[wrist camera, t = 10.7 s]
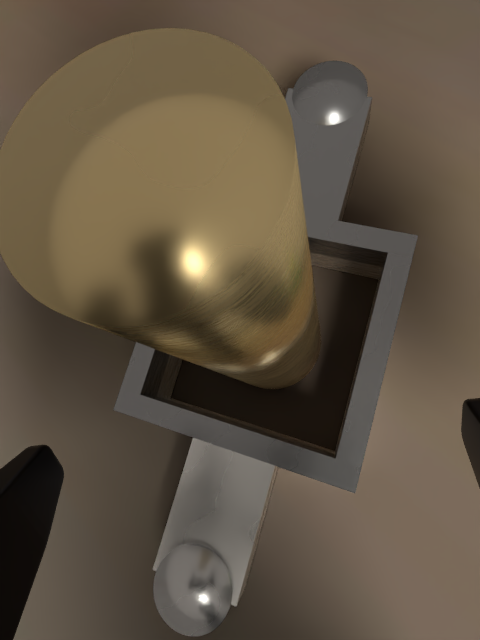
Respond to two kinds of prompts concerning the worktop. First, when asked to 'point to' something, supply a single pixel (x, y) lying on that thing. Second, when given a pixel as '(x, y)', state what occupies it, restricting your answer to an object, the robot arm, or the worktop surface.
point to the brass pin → (166, 204)
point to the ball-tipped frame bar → (250, 440)
